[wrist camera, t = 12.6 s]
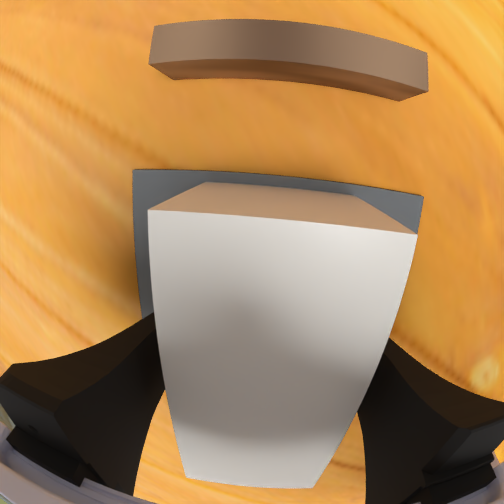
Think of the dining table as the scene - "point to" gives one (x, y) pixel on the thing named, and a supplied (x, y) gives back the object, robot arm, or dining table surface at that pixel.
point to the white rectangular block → (270, 323)
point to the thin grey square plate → (178, 181)
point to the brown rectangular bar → (289, 55)
